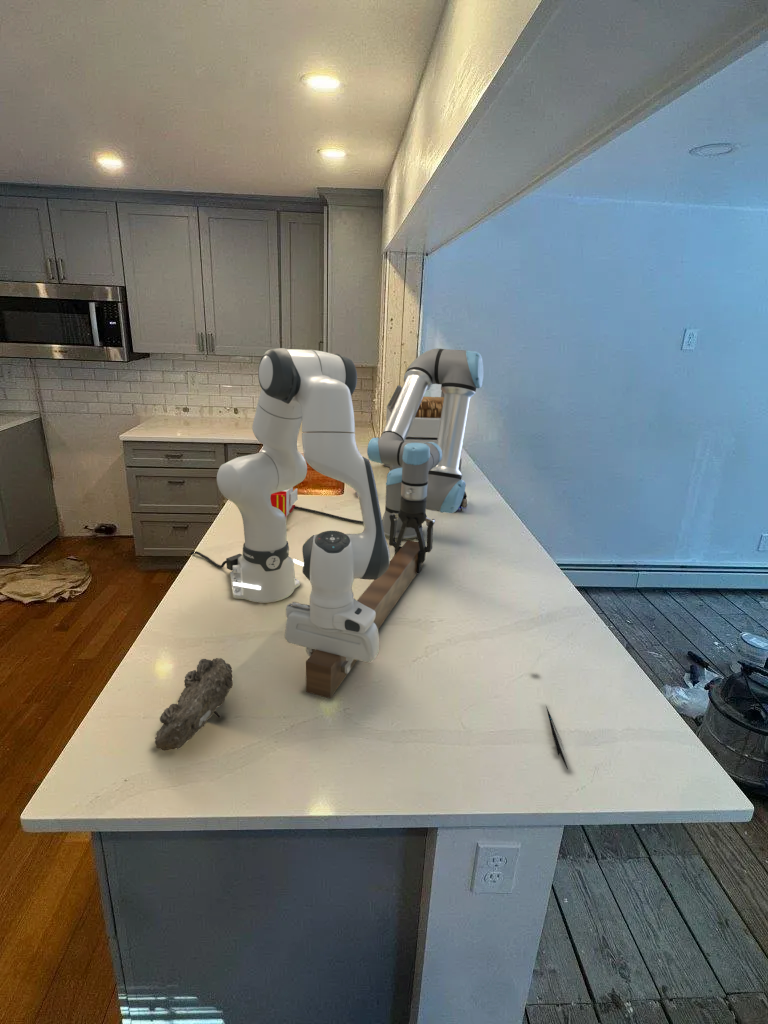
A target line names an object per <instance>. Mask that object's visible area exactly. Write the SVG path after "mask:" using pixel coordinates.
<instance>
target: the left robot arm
mask: <svg viewBox="0 0 768 1024" xmlns="http://www.w3.org/2000/svg"><path fill="white" fill-rule="evenodd" d="M257 376H258V377H257V379H258V383H259V386H260V388H261V389H260V393H259V396H258V399H257V405H256V409H255V413H254V417H253V421H252V424H251V425H252V427H251V428H252V433H253V435H254V437H255V438H256V440H257V441H258V442H259V443H260V444H262V448H261V450H260V451H259V452H257V453H251V454H247V455H242V456H238V457H235V458H232V459H231V460H229V461H227V462H225V463H223V464H221V465H220V466H219V468H218V470H217V473H216V474H217V475H216V485H217V487H218V490H219V492H220V494H221V495H222V496H223V497H224V498H225V499H227V500H228V501H229V502H231V503H233V504H234V505H235V506H236V507H237V509H238V511H239V513H240V515H241V518H242V525H243V536H244V538H243V539H244V542H243V546H242V553H238V554H235V555H232V556H229V557H226V559H225V560H224V561H222V563H221V565H220V564H218V563H216V561H214V560H212V559H211V558H210V557H208V556H207V555H205V554H203V553H201V552H200V551H197V550H193V551H191V552H190V553H189V555H191V556H192V555H194V554H196V555H198V556H200V557H201V558H203V559H205V560H206V561H208V562H209V563H210V564H212V565H213V566H215V567H216V568H218V569H219V568H220V569H222V568H224V567H225V565H226V569H228V570H229V571H230V573H229V577H230V585H231V594H232V598H234V599H237V600H238V599H239V600H245V601H250V602H253V603H261V604H264V603H265V604H266V603H275V602H279V601H283V600H285V599H287V598H288V597H290V596H291V595H292V594H293V593H294V591H295V590H296V589H297V588H299V587H300V586H301V581H300V580H299V579H297V578H296V574H295V572H296V571H295V564H296V565H298V566H302V574H303V575H304V577H305V578H306V579H307V581H309V582H310V586H311V591H310V594H309V604H306V603H299V602H297V601H292V602H291V603H288V604H287V605H286V607H285V616H286V622H285V629H284V639H285V640H286V642H287V644H291V645H295V646H298V647H303V648H305V651H306V653H307V655H308V656H309V657H310V656H311V655H312V653H313V652H314V651H315V650H319V651H323V652H327V653H331V654H335V655H339V656H343V657H346V661H348V662H345V661H344V663H343V664H342V665H341V672H342V673H346V674H347V675H348V674H349V673H350V672H351V669H350V665H351V663H352V662H353V660H354V659H356V660H357V661H360V662H364V663H368V664H370V663H373V661H374V660H376V658H377V656H378V655H379V652H380V634H379V629H378V628H377V626H376V624H375V623H374V620H375V617H376V612H375V611H374V610H373V609H371V608H369V607H367V606H365V605H363V604H362V603H360V602H358V601H357V600H358V599H355V597H354V592H353V584H354V581H355V579H360V580H371V581H374V580H376V579H378V578H379V577H380V576H382V575H383V574H384V573H385V572H386V571H387V570H388V568H389V563H390V560H391V553H390V548H389V543H388V542H387V539H386V537H385V534H384V529H383V523H382V519H383V517H382V512H381V506H380V500H379V495H378V489H377V484H376V479H375V475H374V470H373V467H372V464H371V462H370V459H369V458H366V457H364V456H363V455H362V453H361V452H360V450H359V448H358V445H357V441H356V424H355V422H356V420H355V411H354V404H353V399H352V396H353V394H354V392H355V390H356V388H357V384H358V372H357V367H356V365H355V363H354V362H353V360H352V359H351V358H349V357H348V356H345V355H342V354H340V353H332V352H327V351H322V350H317V349H316V350H315V349H299V348H298V349H295V348H294V349H293V348H292V349H289V348H288V349H287V348H285V347H275V348H270V349H268V350H266V351H265V352H264V353H263V355H262V356H261V358H260V359H259V365H258V369H257ZM300 430H301V445H302V452H303V454H302V452H301V451H299V449H298V438H299V434H300ZM307 464H308V465H307ZM308 466H309V467H310V468H312V469H313V470H314V471H316V472H317V473H319V474H321V475H322V476H325V477H328V478H331V479H333V480H335V481H338V482H341V483H343V484H345V485H347V486H349V487H350V488H352V489H353V490H354V491H355V494H356V493H357V494H358V497H357V498H358V501H359V506H360V511H361V512H360V513H361V518H362V519H361V520H362V521H363V524H362V525H363V531H362V532H359V533H344V532H342V531H339V530H325V531H322V532H320V533H317V534H313V535H311V536H310V537H309V538H308V539H306V541H305V542H304V543H303V545H302V548H301V551H302V559H303V562H302V561H300V560H297V559H295V558H292V557H291V556H290V546H289V541H288V533H287V531H288V530H287V529H288V528H287V517H286V516H285V515H284V513H283V512H282V511H281V510H280V509H278V508H276V507H273V506H272V504H271V499H270V497H271V494H273V493H277V492H280V491H284V490H287V489H290V488H292V487H293V488H294V487H295V486H298V485H299V484H300V483H302V482H303V481H304V480H305V479H306V477H307V474H308ZM195 551H196V552H195ZM194 552H195V553H194Z"/></svg>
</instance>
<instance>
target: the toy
mask: <svg viewBox="0 0 768 1024" xmlns="http://www.w3.org/2000/svg"><path fill="white" fill-rule="evenodd" d="M298 498H299V496H298V488H295V489H294V487H292V488H290V489H287V490H284V491H280V492H277V493H273V494H271V497H270V499H271V504H272V506H273V507H276V508H278V509H280V510H281V511H282V512H283V513H284V515H285V516H286V518H287V517H288V516H289V514H290V513H292V512H293V510H295V509H294V506H296V504H295V503H296V502H297V501H299V500H298Z"/></svg>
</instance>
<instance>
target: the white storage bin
mask: <svg viewBox="0 0 768 1024" xmlns="http://www.w3.org/2000/svg"><path fill="white" fill-rule="evenodd" d="M402 387H403V386H402V385H399V384H398V385H397V386H396V388H395V390H394V392H393V394H392V395H391V398H390V400H389V402H388V404H387V405H386V413H385V414H386V415H385V423H386V424H387V421H388V419H389V417H390V415H391V412H392V410H393V408H394V405H395V403H396V401H397V399H398V396H399V394H400V392H401V390H402ZM440 393H441V394H440V396H423V399H422V401H421V403H420V406H419V408H418V410H417V413H416V415H415V418H414V420H413V422H412V425H411V427H410V429H409V432H408V434H407V437H406V439H405V442H412V443H423V444H424V443H426V442H434V443H436V444H437V438H438V432H439V426H440V420H441V413H442V407H443V401H444V393H443V392H442V391H441V392H440ZM462 453H463V449H462V450H461V454H462ZM462 461H463V460H462V455H461V456H460V462H459V471H460V472H462ZM383 466H384V467H388V468H389V472H390V471H391V470H393V469H397V468H402V466H398V465H391V464H383Z"/></svg>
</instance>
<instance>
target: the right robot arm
mask: <svg viewBox="0 0 768 1024" xmlns="http://www.w3.org/2000/svg"><path fill="white" fill-rule="evenodd" d="M403 382H404V383H403V385H402V386H401V387H402V390H401V392H400V394H399V396H398V399H397V401H396V403H395V405H394V408H393V410H392V412H391V415H390V417H389V419H388V421H387V423H386V424H385V426H384V428H383V431H382V433H381V435H380V437H372V438H371V439H370V440H369V442H368V444H367V448H366V454H367V459H368V460H369V461H371V462H373V463H378V464H381V465H382V464H383V465H384V464H391V465H398V466H402V468H397V469H393V470H391V471H390V470H389V472H388V473H387V475H386V482H385V504H384V505H385V507H384V508H385V509H384V513H383V515H382V523H383V529H384V534H385V538H387V539H388V546H389V547H393V548H394V556H395V555H396V553H397V552H398V551H399V550H400V549H401V547H402V542H403V541H407V540H410V541H412V540H415V539H417V542H418V543H419V548H420V551H419V552H418V558H417V575H419V574H420V573H421V572H422V567H423V566H422V563H423V564H424V563H425V561H426V557H427V556H426V555H427V553H428V554H429V553H431V552H432V551H433V544H434V526H435V524H436V519H435V518H430V517H428V515H427V513H426V511H433V512H438V513H442V514H443V513H446V514H453V513H456V512H457V511H458V510H459V509H460V508H459V506H460V504H461V502H462V499H463V496H464V492H466V486H467V484H466V481H465V480H463V479H462V477H463V474H462V473H461V472H462V471H461V472H460V471H459V462H460V456H461V457H462V453H461V450H462V451H463V445H464V444H463V442H464V437H465V431H466V425H467V419H468V412H469V406H470V400H471V398H472V397H473V396H475V395H476V392H477V389H480V388H482V386H483V383H484V361H483V356H482V355H481V353H480V352H478V351H473V350H468V349H450V348H449V349H447V348H437V347H436V348H431V349H429V350H426V351H425V352H423V353H421V354H420V355H418V356H417V357H416V358H415V359H414V360H413V361H412V362H411V363H410V365H409V366H408V367H407V368H406V370H405V373H404V375H403ZM433 385H441V386H440V390H441V392H443V393H444V401H443V407H442V413H441V420H440V426H439V432H438V438H437V444H436V443H434V442H426V443H424V444H423V443H412V442H405V439H406V437H407V434H408V432H409V429H410V427H411V425H412V422H413V420H414V418H415V415H416V413H417V410H418V408H419V406H420V403H421V401H422V399H423V397H425V394H426V392H427V391H429V390H430V389H431V387H432V386H433ZM458 508H459V509H458ZM293 510H300V511H305V512H307V513H308V512H309V513H313V514H318V515H322V516H326V517H330V518H334V519H337V520H341V521H344V522H345V521H346V522H350V523H353V524H354V523H355V524H361V525H364V524H363V520H358V519H352V518H348V517H343V516H339V515H335V514H331V513H329V512H328V513H327V512H324V511H321V510H315V509H311V508H307V507H301V506H297V505H295V506H294V509H293ZM424 523H426V525H425V526H427V527H426V540H425V536H424V527H423V524H424ZM394 556H393V557H394Z"/></svg>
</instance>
